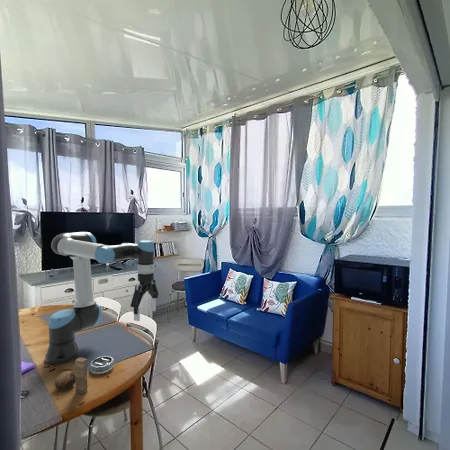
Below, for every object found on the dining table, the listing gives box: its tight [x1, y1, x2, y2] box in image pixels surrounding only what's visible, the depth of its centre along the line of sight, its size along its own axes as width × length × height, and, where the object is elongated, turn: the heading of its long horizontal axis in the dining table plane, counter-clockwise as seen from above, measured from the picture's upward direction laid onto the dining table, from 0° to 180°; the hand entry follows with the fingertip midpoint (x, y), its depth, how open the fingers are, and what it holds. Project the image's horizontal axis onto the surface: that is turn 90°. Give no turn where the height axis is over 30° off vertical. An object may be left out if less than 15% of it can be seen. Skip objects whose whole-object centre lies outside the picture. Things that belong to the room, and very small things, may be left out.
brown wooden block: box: [74, 357, 88, 395], centre depth 117 cm, size 2×4×14 cm, turn 71°
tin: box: [89, 355, 115, 375], centre depth 135 cm, size 10×10×4 cm
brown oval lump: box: [54, 370, 75, 391], centre depth 121 cm, size 8×8×6 cm
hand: (145, 315), depth 136 cm, fingers open, 13 cm apart
